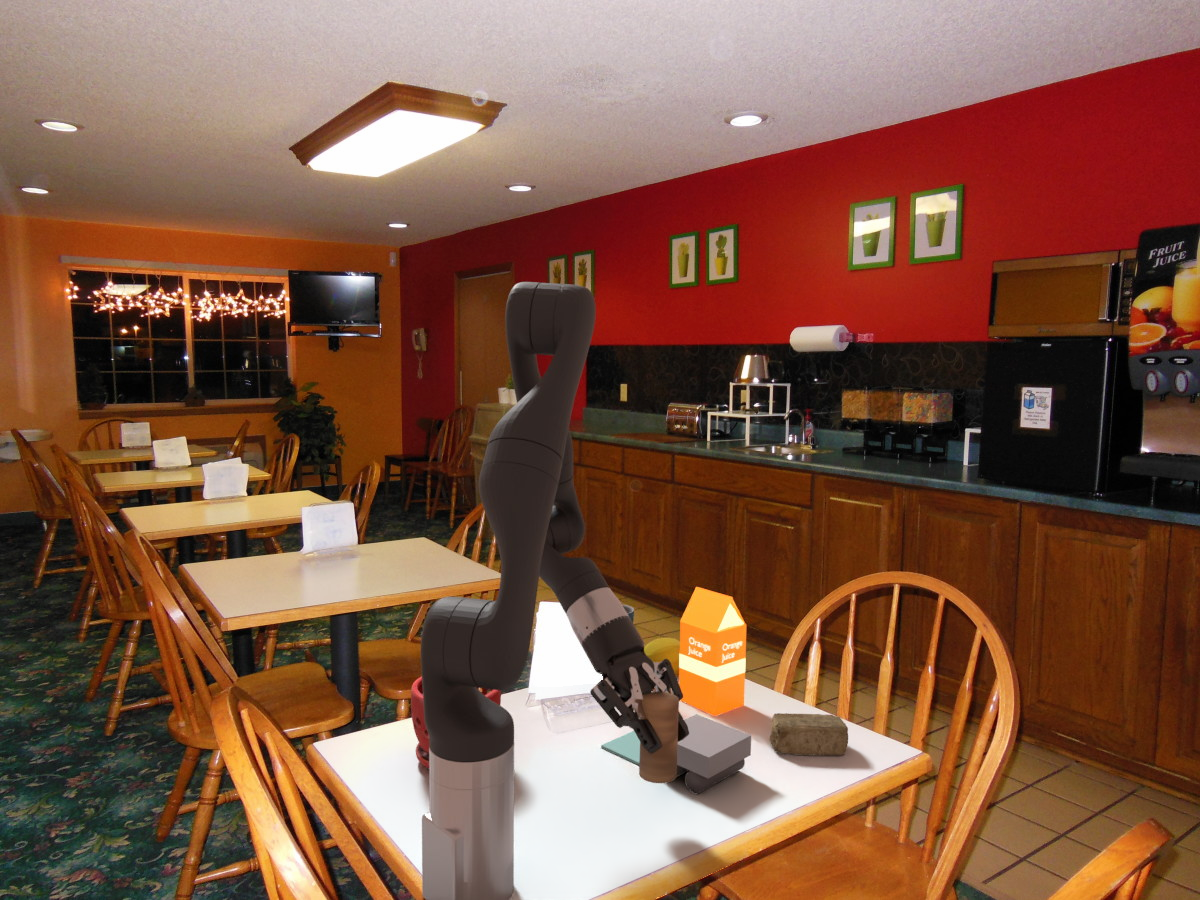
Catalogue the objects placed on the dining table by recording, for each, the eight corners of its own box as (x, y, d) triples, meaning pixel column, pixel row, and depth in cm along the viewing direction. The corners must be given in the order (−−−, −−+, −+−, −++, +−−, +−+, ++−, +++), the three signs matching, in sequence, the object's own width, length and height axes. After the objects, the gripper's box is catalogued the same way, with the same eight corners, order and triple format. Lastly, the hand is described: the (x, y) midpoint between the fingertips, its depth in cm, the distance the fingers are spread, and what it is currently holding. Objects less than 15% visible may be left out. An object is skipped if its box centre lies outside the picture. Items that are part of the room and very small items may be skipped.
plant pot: (392, 769, 120) (391, 689, 119) (447, 734, 132) (447, 661, 131) (467, 790, 114) (467, 706, 113) (517, 751, 126) (517, 675, 125)
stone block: (849, 759, 126) (850, 727, 125) (773, 757, 126) (774, 726, 125) (839, 741, 131) (840, 711, 131) (766, 740, 132) (767, 710, 131)
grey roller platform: (707, 799, 113) (708, 757, 112) (652, 773, 120) (653, 733, 119) (750, 774, 120) (751, 735, 119) (695, 751, 127) (696, 714, 126)
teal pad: (644, 767, 122) (644, 765, 121) (601, 747, 128) (601, 745, 128) (683, 748, 128) (683, 746, 128) (640, 730, 134) (640, 727, 134)
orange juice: (707, 689, 152) (710, 583, 150) (744, 705, 145) (748, 593, 143) (677, 700, 147) (680, 590, 145) (714, 716, 140) (717, 601, 138)
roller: (659, 787, 103) (662, 708, 102) (631, 773, 106) (633, 698, 105) (684, 774, 106) (686, 699, 105) (655, 762, 110) (658, 688, 109)
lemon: (678, 669, 162) (679, 629, 161) (697, 683, 155) (698, 641, 154) (627, 676, 158) (628, 635, 157) (645, 691, 151) (646, 648, 150)
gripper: (580, 624, 105) (649, 747, 97) (654, 605, 115) (722, 714, 108) (551, 655, 109) (615, 775, 101) (625, 634, 119) (688, 741, 112)
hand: (670, 743), depth 104 cm, fingers closed on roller, 4 cm apart
